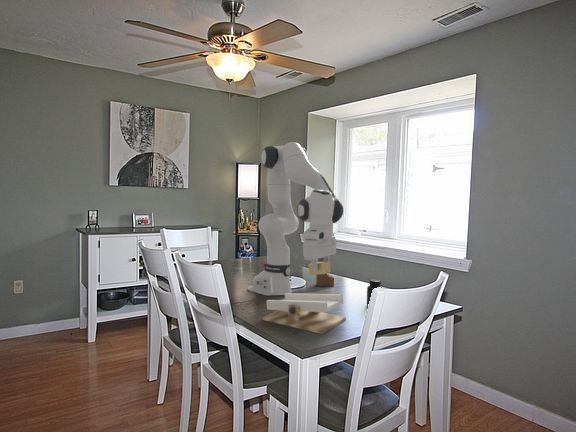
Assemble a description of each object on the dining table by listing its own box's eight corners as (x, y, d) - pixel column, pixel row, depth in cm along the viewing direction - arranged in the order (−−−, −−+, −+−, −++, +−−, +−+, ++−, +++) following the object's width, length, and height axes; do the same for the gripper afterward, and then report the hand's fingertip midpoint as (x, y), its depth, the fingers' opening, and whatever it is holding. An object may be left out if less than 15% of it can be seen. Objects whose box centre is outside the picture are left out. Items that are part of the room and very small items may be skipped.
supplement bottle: (370, 303, 181) (372, 277, 180) (384, 307, 176) (386, 280, 176) (363, 307, 175) (364, 280, 175) (377, 310, 171) (378, 282, 170)
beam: (267, 309, 156) (266, 300, 156) (286, 301, 168) (286, 293, 168) (326, 312, 142) (325, 302, 142) (343, 303, 154) (342, 294, 154)
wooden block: (332, 284, 217) (333, 251, 216) (334, 286, 213) (335, 252, 212) (315, 284, 216) (317, 251, 215) (317, 286, 212) (318, 252, 210)
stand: (262, 319, 154) (262, 300, 154) (289, 307, 171) (290, 290, 170) (322, 334, 140) (323, 313, 140) (345, 319, 157) (346, 300, 157)
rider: (309, 274, 150) (308, 264, 150) (316, 272, 155) (315, 261, 155) (323, 274, 147) (322, 263, 147) (330, 271, 152) (329, 261, 152)
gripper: (326, 230, 160) (325, 264, 161) (300, 234, 143) (299, 272, 144) (340, 231, 157) (339, 266, 158) (315, 235, 140) (314, 274, 140)
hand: (320, 269), depth 151 cm, fingers closed on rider, 6 cm apart
